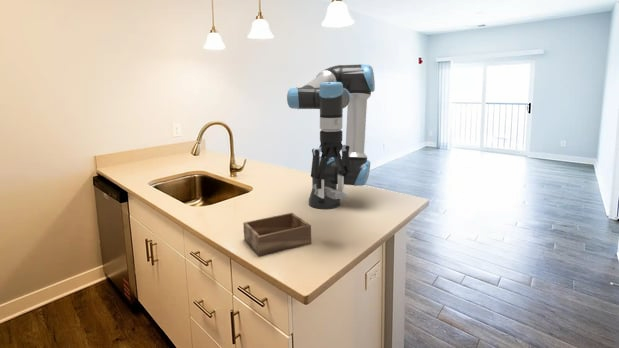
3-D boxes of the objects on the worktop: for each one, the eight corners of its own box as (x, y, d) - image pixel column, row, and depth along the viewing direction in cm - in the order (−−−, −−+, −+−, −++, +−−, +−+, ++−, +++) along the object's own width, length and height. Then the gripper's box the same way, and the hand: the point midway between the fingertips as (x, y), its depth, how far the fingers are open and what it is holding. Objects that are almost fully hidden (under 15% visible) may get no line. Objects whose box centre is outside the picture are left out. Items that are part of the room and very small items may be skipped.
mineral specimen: (324, 192, 128) (324, 181, 128) (350, 197, 120) (349, 185, 119) (312, 196, 124) (311, 184, 123) (337, 201, 115) (337, 189, 115)
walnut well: (244, 240, 129) (243, 222, 128) (292, 229, 139) (292, 212, 137) (259, 256, 117) (258, 237, 115) (311, 243, 126) (311, 225, 124)
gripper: (310, 133, 108) (311, 203, 114) (362, 128, 117) (360, 193, 123) (298, 131, 114) (300, 197, 120) (349, 126, 124) (348, 187, 130)
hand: (330, 195), depth 122 cm, fingers closed on mineral specimen, 7 cm apart
